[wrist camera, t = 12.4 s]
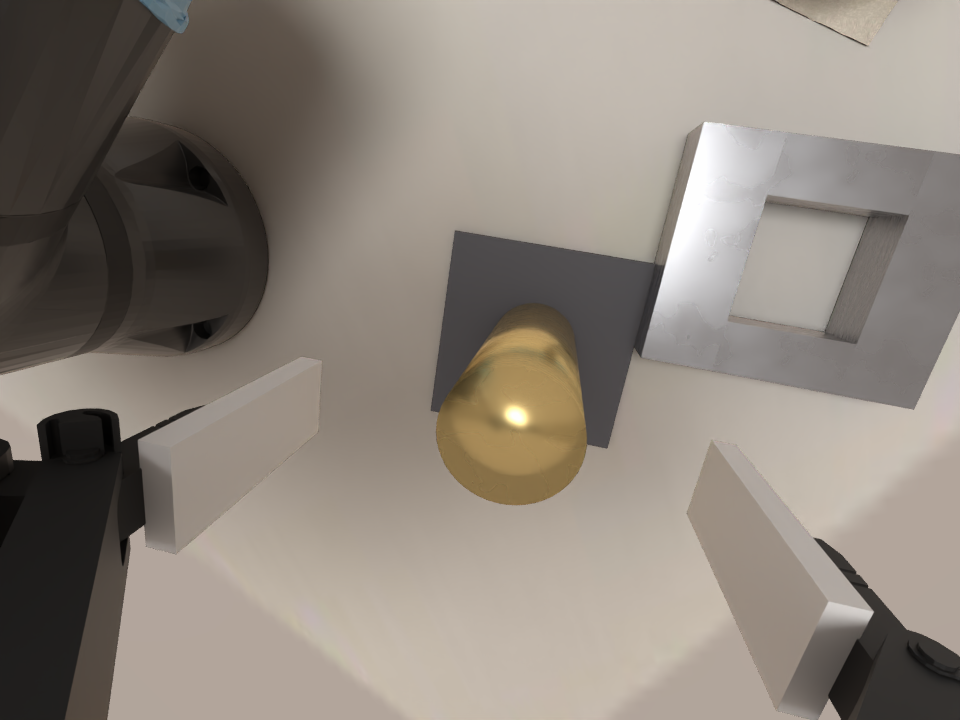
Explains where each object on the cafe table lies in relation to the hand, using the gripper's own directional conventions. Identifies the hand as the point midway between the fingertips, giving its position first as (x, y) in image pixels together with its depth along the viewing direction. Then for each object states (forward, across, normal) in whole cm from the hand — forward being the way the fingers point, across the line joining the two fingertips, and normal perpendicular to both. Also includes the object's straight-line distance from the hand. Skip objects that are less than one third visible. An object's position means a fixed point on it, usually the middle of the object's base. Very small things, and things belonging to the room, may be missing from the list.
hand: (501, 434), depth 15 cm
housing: (+15, +14, +7) cm, 21 cm away
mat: (+15, 0, 0) cm, 15 cm away
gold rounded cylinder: (+14, 0, 0) cm, 14 cm away
